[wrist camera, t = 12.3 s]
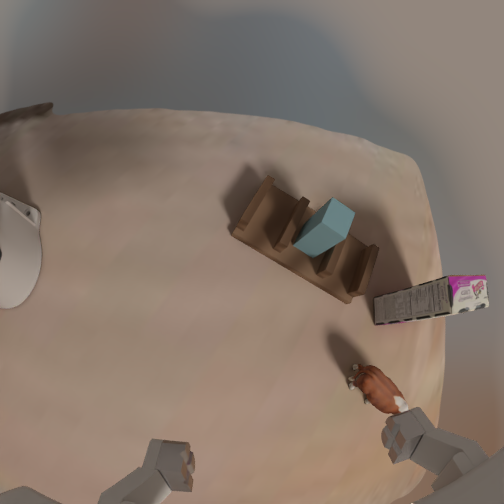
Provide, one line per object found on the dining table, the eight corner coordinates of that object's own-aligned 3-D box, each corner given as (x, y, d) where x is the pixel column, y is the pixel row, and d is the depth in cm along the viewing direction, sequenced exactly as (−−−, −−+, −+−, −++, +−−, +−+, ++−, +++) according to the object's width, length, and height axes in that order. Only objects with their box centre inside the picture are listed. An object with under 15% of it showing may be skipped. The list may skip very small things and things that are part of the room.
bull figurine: (374, 424, 35) (406, 435, 27) (334, 373, 36) (367, 380, 29) (390, 405, 37) (423, 413, 29) (353, 353, 38) (387, 355, 30)
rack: (231, 235, 38) (236, 224, 34) (262, 184, 42) (270, 170, 38) (346, 304, 40) (362, 300, 36) (365, 250, 43) (380, 242, 39)
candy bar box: (415, 293, 44) (486, 273, 28) (417, 320, 42) (490, 307, 27) (371, 295, 41) (449, 273, 26) (373, 326, 40) (453, 316, 24)
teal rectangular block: (292, 245, 39) (321, 222, 30) (303, 223, 40) (332, 197, 32) (313, 258, 39) (345, 238, 31) (323, 236, 40) (355, 212, 32)
